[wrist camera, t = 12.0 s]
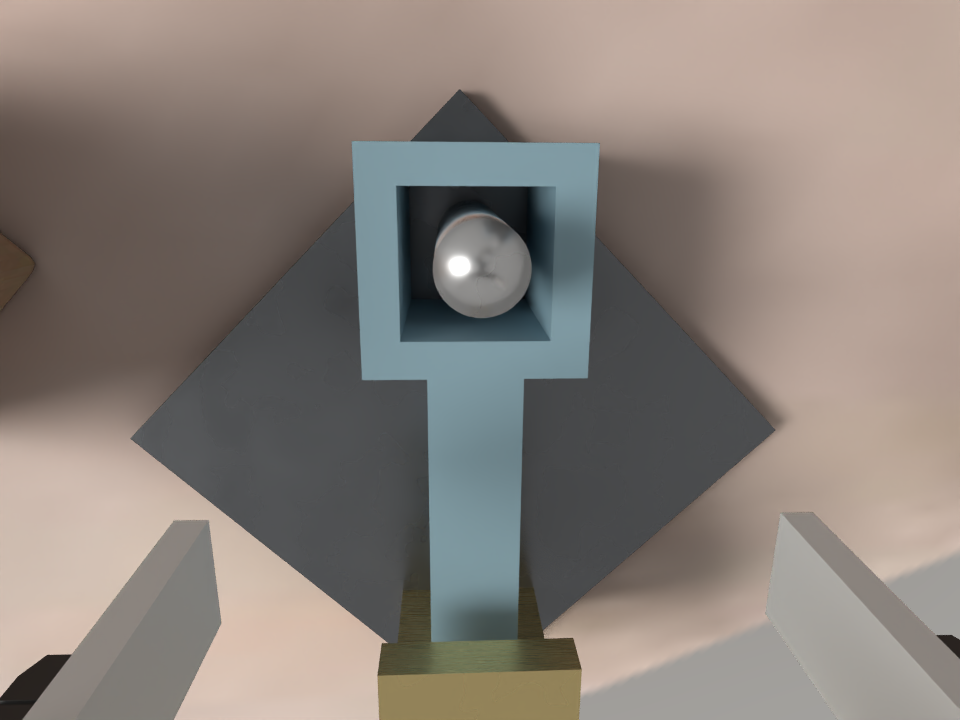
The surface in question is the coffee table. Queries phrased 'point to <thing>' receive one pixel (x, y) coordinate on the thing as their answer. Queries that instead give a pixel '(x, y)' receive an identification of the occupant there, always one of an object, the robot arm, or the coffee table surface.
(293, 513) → the plate
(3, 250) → the wooden block
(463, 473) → the link
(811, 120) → the coffee table surface
